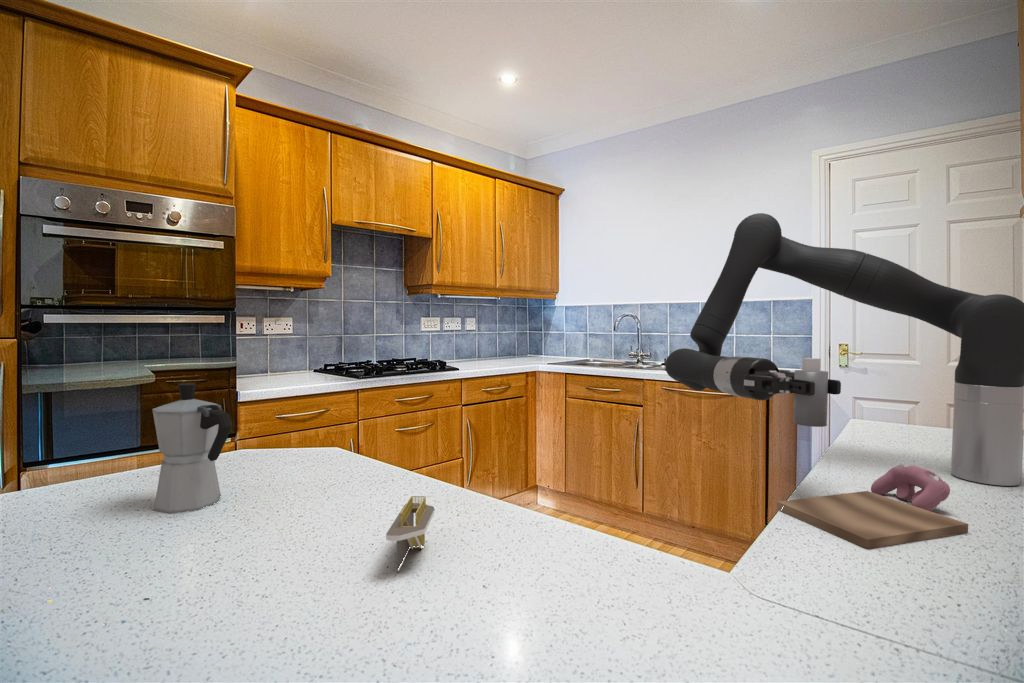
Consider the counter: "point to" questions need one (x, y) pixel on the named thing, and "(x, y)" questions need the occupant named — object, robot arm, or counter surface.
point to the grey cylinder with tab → (814, 406)
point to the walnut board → (871, 519)
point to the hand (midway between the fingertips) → (825, 388)
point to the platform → (410, 526)
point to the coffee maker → (189, 451)
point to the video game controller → (913, 486)
